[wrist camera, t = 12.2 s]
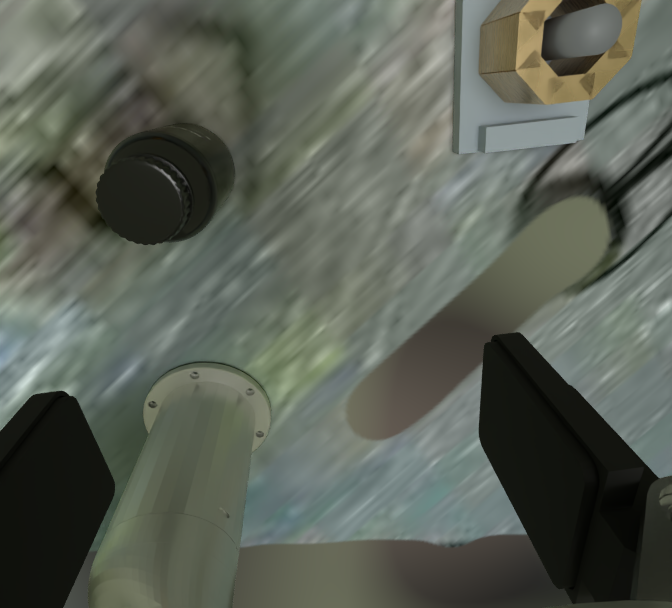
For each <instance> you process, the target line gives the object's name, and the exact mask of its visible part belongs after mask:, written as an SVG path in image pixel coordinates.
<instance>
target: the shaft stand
mask: <svg viewBox="0 0 672 608" xmlns="http://www.w3.org/2000/svg"><path fill="white" fill-rule="evenodd" d="M500 1H501V0H456V15H455V64H454V114H453V152H455V153H457V154H465V153H473V152H483V153H490V152H499V151H507V150H516V149H525V148H533V147H542V146H550V145H559V144H567V143H576V140H584V134H585V127H586V120H587V113H588V106H589V100H583V101H575V102H566V103H558V104H549V105H541V104H523V103H505V102H504V101H503V100H502V99H501V98H500V97H499V96H498V95H497V94H496V93H495V92H494V90H493V89H492V88H491V87H490V86H489V85H488V84H487V83H486V82H485V81H484V80H483V79H482V78H481V76H480V75H479V74H480V73H478V71H479V45H480V27H481V24H482V23H483V22H484V21H485V19H486V18H487V17H488V16H489V14H490V13H491V12H492V11H493V9H494V8H495V7H496V6H497V4H498V3H499V2H500ZM621 29H622V17H621V13H620V11H619V10H618V8H617V7H615V6H614V5H612V4H608V3H604V4H600V5H596V6H593V7H589V8H586V9H582V10H579V11H575V12H572V13H568V14H565V15H561V16H558V17H554V18H551V17H550V16H549V17H548V18H547V19H546V20H545V21H544V28H543V39H542V49H541V57H542V58H543V59H544V60H545V62H546V63H547V64H549V63H550V62H551V61H552V60H557V59H566V58H574V57H582V56H590V55H598V54H602V53H604V52H606V51H607V50H609V49H610V48H611V47H612V46H613V45H614V44H615V42H616V41H617V39H618V37H619V35H620V32H621Z"/></svg>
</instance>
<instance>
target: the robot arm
mask: <svg viewBox="0 0 672 608" xmlns="http://www.w3.org/2000/svg"><path fill="white" fill-rule="evenodd" d="M143 418H144V424H145V427H146V429H147V432H148V433H149V435H148V437H147V439H146V441H145V444H144V446H143V448H142V451H141V453H140V455H139V458H138V460H137V462H136V464H135V467H134V469H133V471H132V474H131V476H130V478H129V480H128V483H127V485H126V487H125V490H124V492H123V494H122V497H121V499H120V501H119V503H118V506H117V508H116V510H115V513H114V515H113V517H112V520H111V522H110V524H109V526H108V529H107V531H106V534H105V536H104V539H103V541H102V543H101V545H100V547H99V550H98V552H97V554H96V557H95V559H94V562H93V565H92V569H91V573H90V578H89V584H88V605H89V608H232V607H233V598H234V589H235V581H236V580H235V579H236V573H237V564H238V557H239V549H240V541H241V533H242V525H243V517H244V509H245V502H246V494H247V486H248V478H249V470H250V462H251V454H252V453H253V452H254V451H255V450H256V449H257V448H258V447H259V446H260V445H261V444H262V443H263V441H264V440H265V438H266V437H267V434H268V432H269V429H270V423H271V407H270V402H269V400H268V398H267V395H266V393H265V392H264V390H263V389H262V388H261V387H260V385H259V384H258V383H257V382H256V381H255V380H253V379H252V378H251V377H250V376H248V375H246V374H245V373H243V372H242V371H240V370H237V369H235V368H232V367H230V366H226V365H221V364H217V363H193V364H188V365H184V366H180V367H178V368H176V369H173V370H171V371H169V372H168V373H166V374H165V375H163V376H162V377H161V378H159V379H158V381H157V382H156V383H155V384H154V385H153V386H152V388H151V390H150V392H149V394H148V395H147V398H146V400H145V403H144V408H143ZM479 438H480V442H481V445H482V447H483V449H484V451H485V453H486V455H487V457H488V459H489V461H490V463H491V465H492V467H493V469H494V471H495V473H496V475H497V476H498V478H499V480H500V482H501V484H502V486H503V488H504V490H505V492H506V494H507V496H508V498H509V500H510V501H511V503H512V505H513V507H514V509H515V511H516V513H517V515H518V517H519V519H520V521H521V523H522V525H523V527H524V528H525V530H526V532H527V534H528V536H529V538H530V540H531V542H532V544H533V546H534V548H535V550H536V551H537V553H538V555H539V557H540V559H541V561H542V563H543V565H544V567H545V569H546V571H547V573H548V575H549V577H550V579H551V580H552V582H553V584H554V585H555V586H556V587H557V588H558V589H563V588H565V590H566V592H567V594H568V596H569V598H570V600H571V601H572V603H573V604H571V605H563V606H555V607H547V608H672V476H667V477H663V478H658V477H657V476H656V475H655V474H654V473H653V472H652V470H651V469H650V468H649V467H648V466H647V465H646V464H645V463H644V462H643V461H642V460H641V459H640V458H639V457H638V455H637V454H636V453H635V452H634V451H633V450H632V449H631V448H630V447H629V446H628V445H627V444H626V443H625V442H624V440H623V439H622V438H621V437H620V436H619V435H618V434H617V433H616V432H615V431H614V430H613V429H612V428H611V427H610V425H609V424H608V423H607V422H606V421H605V420H604V419H603V418H602V417H601V416H600V415H599V414H598V413H597V412H596V410H595V409H594V408H593V407H592V406H591V405H590V404H589V403H588V402H587V401H586V400H585V399H584V398H583V397H582V395H581V394H580V393H579V392H578V391H577V390H576V389H575V388H573V387H572V386H571V385H568V384H567V382H566V381H565V380H564V379H563V378H562V377H561V376H560V375H559V374H558V373H557V372H556V371H555V370H554V368H553V367H552V366H551V365H550V364H549V363H548V362H547V361H546V360H545V359H544V358H543V357H542V355H541V354H540V353H539V352H538V351H537V350H536V349H535V348H534V347H533V346H532V345H531V344H530V342H529V341H528V340H527V339H526V338H525V337H524V336H523V335H522V334H521V333H519V332H516V333H508V334H500V335H494V336H493V337H492V339H491V342H488V343H485V345H484V354H483V369H482V385H481V401H480V417H479ZM114 492H115V483H114V479H113V477H112V475H111V473H110V470H109V468H108V466H107V464H106V462H105V460H104V457H103V455H102V453H101V451H100V449H99V447H98V444H97V442H96V440H95V438H94V436H93V434H92V431H91V429H90V427H89V425H88V423H87V421H86V418H85V416H84V414H83V412H82V410H81V408H80V405H79V403H78V401H77V400H76V398H75V397H73V396H69V395H68V394H67V393H66V392H65V391H56V392H48V393H40V394H35V395H33V396H31V397H30V398H29V399H28V400H27V402H26V403H25V404H24V405H23V406H22V407H21V408H20V410H19V411H18V412H17V413H16V414H15V415H14V416H13V418H12V419H11V420H10V421H9V422H8V423H7V424H6V426H5V427H4V428H3V429H2V430H1V431H0V608H63V607H64V605H65V602H66V600H67V598H68V596H69V593H70V591H71V589H72V587H73V585H74V583H75V580H76V578H77V576H78V574H79V572H80V569H81V567H82V565H83V563H84V560H85V558H86V556H87V554H88V552H89V549H90V547H91V545H92V543H93V541H94V538H95V536H96V534H97V532H98V530H99V527H100V525H101V523H102V521H103V519H104V516H105V514H106V512H107V510H108V508H109V505H110V503H111V501H112V499H113V496H114Z"/></svg>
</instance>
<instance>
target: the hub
mask: <svg viewBox="0 0 672 608" xmlns="http://www.w3.org/2000/svg"><path fill="white" fill-rule="evenodd" d="M641 1H642V0H501V1H500V2H499V3H498V4H497V6H496V7H495V8H494V9H493V11H492V12H491V13H490V14H489V16H488V17H487V18H486V19H485V21H484V22H483V23H482V24H481V27H480V45H479V71H478V73H480V74H479V75H480V76H481V78H482V79H483V80H484V81H485V82H486V83H487V84H488V85H489V86H490V87H491V88H492V89H493V90H494V92H495V93H496V94H497V95H498V96H499V97H500V98H501V99H502V100H503V101H504V102H505V103H523V104H541V105H549V104H558V103H566V102H575V101H583V100H591V99H593V98H594V97H595V96H596V95H597V94H598V93H599V92H600V90H601V89H602V88H603V87H604V86H605V85H606V84H607V83H608V82H609V81H610V80H611V79H612V78H613V77H614V76H615V74H616V73H617V72H618V71H619V70H620V69H621V68H622V67H623V66H624V65H625V64H626V63H627V62H628V61H629V60H630V58H631V57H632V52H633V46H634V40H635V35H636V29H637V23H638V18H639V12H640V6H641ZM604 3H608V4H612V5H614V6H615V7H617V8H618V10H619V11H620V13H621V17H622V29H621V32H620V35H619V37H618V39H617V41H616V42H615V44H614V45H613V46H612V47H611V48H610V49H609V50H607V51H606V52H604V53H602V54H598V55H590V56H582V57H574V58H566V59H557V60H552V61H551V62H550V63H549V64H547V63H546V62H545V60H544V59H543V58H542V57H541V49H542V39H543V28H544V21H545V20H546V19H547V18H548V17H549V16H550V17H551V18H554V17H558V16H561V15H565V14H568V13H572V12H575V11H579V10H582V9H586V8H589V7H593V6H596V5H600V4H604Z"/></svg>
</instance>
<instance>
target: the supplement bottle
mask: <svg viewBox="0 0 672 608" xmlns="http://www.w3.org/2000/svg"><path fill="white" fill-rule="evenodd" d="M234 176H235V172H234V164H233V160H232V157H231V155H230V153H229V151H228V149H227V148H226V146H225V145H224V143H223V142H222V141H221V140H220V139H219V138H218V137H217V136H216V135H215V134H213V133H212V132H211V131H209V130H207V129H205V128H203V127H200V126H198V125H194V124H185V123H182V124H174V125H169V126H165V127H161V128H157V129H153V130H149V131H145V132H141V133H138V134H135V135H132V136H130V137H128V138H126V139H125V140H123V141H122V142H121V143H119V144H118V145H117V146H116V147H115V148H114V150H113V151H112V153H111V154H110V156H109V158H108V160H107V162H106V165H105V170H104V174H102V175H101V176H100V181H99V182H98V183H97V190H96V195H97V198H96V202H97V203H98V210H99V211H100V212H101V216H102V218H103V219H104V220H105V221H106V224H107V225H108V226H110V227H111V228H112V230H113V231H114V232H116V233H118V234H119V236H120V237H123V238H126V239H127V240H128V241H133V242H135V243H136V244H140V243H141V244H144V245H148V244H151V245H155V244H157V243H163V242H169V243H170V242H179V241H183V240H186V239H189V238H191V237H193V236H195V235H196V234H198V233H199V232H201V231H202V230H203V229H204V228H205V227H206V226H207V225H208V223H209V222H210V221H211V220H212V218H213V217H214V216H215V214H216V213H217V211H218V210H219V209H220V207H221V206H222V205H223V203H224V202H225V201H226V199H227V198H228V196H229V194H230V192H231V190H232V187H233V184H234Z"/></svg>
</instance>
